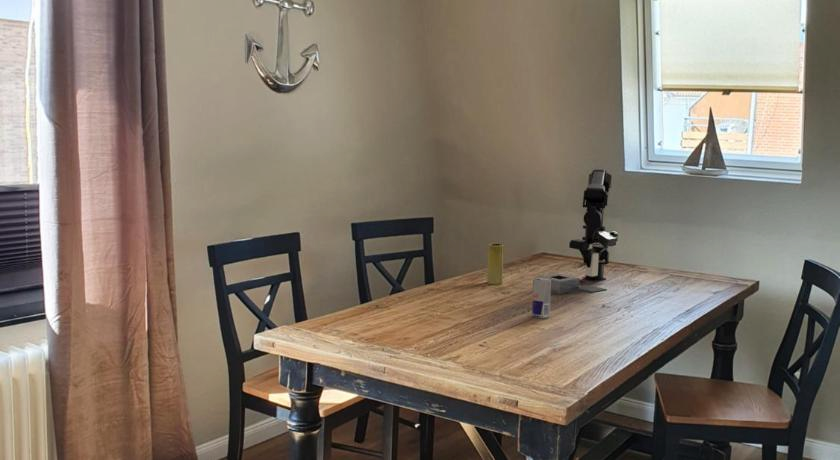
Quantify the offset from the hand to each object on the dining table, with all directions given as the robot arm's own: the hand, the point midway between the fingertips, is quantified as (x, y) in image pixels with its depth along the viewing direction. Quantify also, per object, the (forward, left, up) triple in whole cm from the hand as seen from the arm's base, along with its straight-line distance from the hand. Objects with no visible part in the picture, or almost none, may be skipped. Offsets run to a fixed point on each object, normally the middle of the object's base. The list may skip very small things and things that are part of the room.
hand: (591, 266), depth 303 cm
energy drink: (+43, +17, -8) cm, 47 cm away
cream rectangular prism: (0, 0, -3) cm, 3 cm away
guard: (+10, -6, -8) cm, 14 cm away
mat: (0, 0, -8) cm, 8 cm away
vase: (+21, -27, -8) cm, 35 cm away
